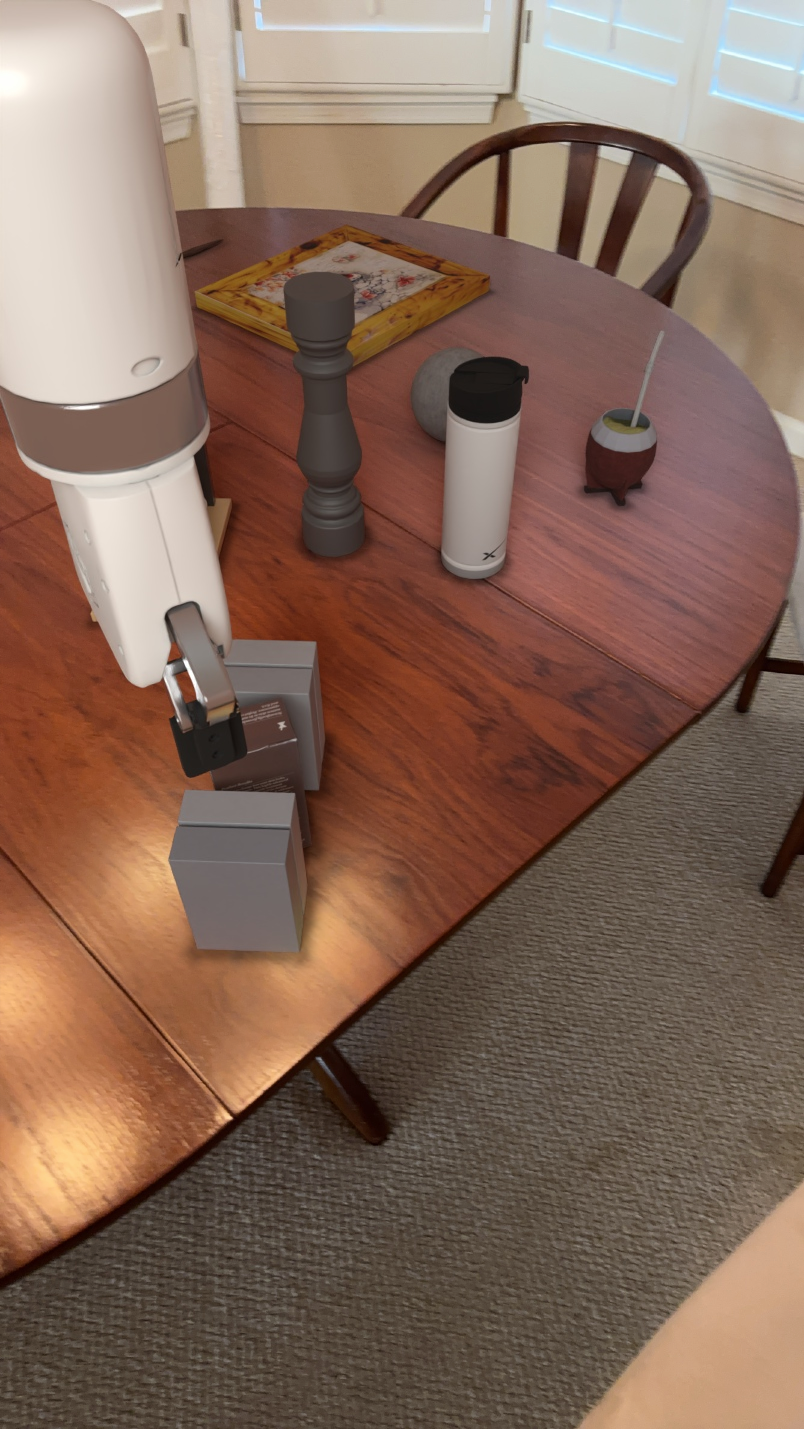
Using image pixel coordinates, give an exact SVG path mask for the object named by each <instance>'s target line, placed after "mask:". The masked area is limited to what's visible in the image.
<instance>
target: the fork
mask: <svg viewBox="0 0 804 1429" xmlns="http://www.w3.org/2000/svg"><path fill="white" fill-rule="evenodd" d="M222 242H224V238H220V239H215V240H212V241H209V242H206V243H203V244H200V245H196V246H193V247H191V248H189V249H186V250H184V251H182V254H183V258H186V257H190V256H193V255H196V254H199V253H201V252H203V251H204V250H206V249H209V248H211V247H213V246H216V245H218V244H220V243H222Z"/></svg>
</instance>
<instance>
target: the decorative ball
mask: <svg viewBox="0 0 804 1429" xmlns="http://www.w3.org/2000/svg"><path fill="white" fill-rule="evenodd" d="M481 357H485V356H484V355H483V354H482V353H480V352H478V351H476V350H474V349H471V348H468V347H463V346H453V347H446V348H443V349H439V350H437V351H436V352H433V353H432V354H431V355H430V356H428V357H427V358H426V359H424V361H423V362H422V363H421V364H420V366H419V367H418V368H417V370H416V372H415V374H414V376H413V378H412V383H411V386H410V396H409V397H410V406H411V409H412V413H413V415H414V416H413V417H415V420H416V422H417V423H418V425H419V426H420V427H421V429H422V430H423V431H424V432H425V433H426V434H428V435H429V436H430V437H432V438H434V439H435V440H438V441H440V442H443V443H446V430H447V410H448V409H447V406H448V399H449V379H450V376H451V374H452V373H454V369H455V368H456V367H457V366H458V365H460V364H462V363H464V362H466V361H469V360H472V359H476V358H481Z"/></svg>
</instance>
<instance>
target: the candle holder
mask: <svg viewBox="0 0 804 1429" xmlns="http://www.w3.org/2000/svg"><path fill="white" fill-rule="evenodd" d="M283 290H284V301H285V312H286V323H287V328H288V330H289V331H290V333H291V337H292V339H293V340H294V342H295V343H296V345H297V347H298V349H299V351H298V352H295V353H294V354H293V357H292V366H293V368H294V370H295V371H296V373H297V374H299V375H300V376H301V380H302V382H301V383H302V394H303V413H302V417H301V425H300V430H299V437H298V442H297V443H298V444H297V448H296V454H295V460H296V464H297V467H298V469H299V470H300V473H301V474H302V476H303V477H304V478H305V479H306V482H307V484H308V486H307V488H306V489H305V490H304V491H303V494H302V499H301V501H302V502H301V503H302V506H301V511H300V519H301V529H302V539H303V540H302V541H303V542H304V545H305V547H306V548H307V549H308V550H309V551H310V552H312V553H314V554H315V555H319V556H323V557H328V558H329V557H330V558H331V557H332V558H333V557H334V558H339V557H343V556H348V555H351V554H353V553H354V552H357V551H358V550H360V548H361V547H362V545H363V544H364V543H365V537H366V526H365V523H366V522H365V506H364V505H363V503H362V493H361V492H360V490H359V489H358V487H357V485H355V484H354V481H355V477H356V475H357V474H358V472H359V471H360V470H361V465H362V460H363V449H362V446H361V442H360V439H359V437H358V433H357V429H356V426H355V422H354V420H353V416H352V413H351V409H350V406H349V402H348V383H347V382H348V381H347V380H348V379H347V376H348V375H349V372H350V371H351V370H352V369H353V367H354V366H353V360H354V356H353V355H352V353H351V352H350V351H349V350H348V349H347V344H348V341H349V340H350V339H351V336H352V330H353V329H354V326H355V307H354V284H353V283H352V281H351V280H350V279H349V278H347V277H345V276H343V275H341V274H336V273H331V272H310V273H303V274H300V275H297V276H295V277H292V278H291V279H289V280H288V281H287V282H286V283H285V285H284V289H283Z"/></svg>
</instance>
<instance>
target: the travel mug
mask: <svg viewBox="0 0 804 1429" xmlns="http://www.w3.org/2000/svg"><path fill="white" fill-rule="evenodd" d="M529 380H530V368H529V366H528V365H522V364H521V363H520V362H518V361H517V360H514V359H512V358H508V357H504V356H493V355H492V356H484V357H481V358H476V359H472V360H469V361H466V362H464V363H462V364H460V365H458V366H457V367H456V368H455V369H454V373H452V374H451V376H450V379H449V399H448V406H447V409H448V410H447V430H446V442H445V456H444V480H443V481H444V482H443V502H442V503H443V504H442V525H441V546H440V559H441V563H442V565H443V567H444V568H445V569H446V570H447V571H448V572H449V573H450V574H452V575H455V576H457V577H460V578H462V579H468V580H481V579H486V578H489V577H493V576H494V575H495V574H498V573H499V571H501V570H502V568H503V567H504V565H505V563H506V555H507V547H508V546H507V545H508V536H509V527H510V517H511V510H512V509H511V508H512V500H513V499H512V498H513V492H514V491H513V490H514V489H513V488H514V480H515V473H516V472H515V471H516V464H517V463H516V462H517V454H518V444H519V442H518V441H519V435H520V434H519V433H520V425H521V412H522V398H523V384H524V385H527V384H528V383H529Z"/></svg>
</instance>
